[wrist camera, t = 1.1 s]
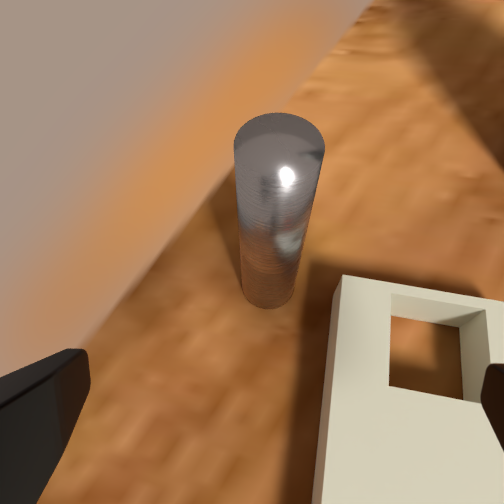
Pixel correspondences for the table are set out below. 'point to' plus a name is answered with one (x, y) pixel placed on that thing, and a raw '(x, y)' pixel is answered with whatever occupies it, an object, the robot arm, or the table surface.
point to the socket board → (405, 404)
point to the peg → (274, 201)
